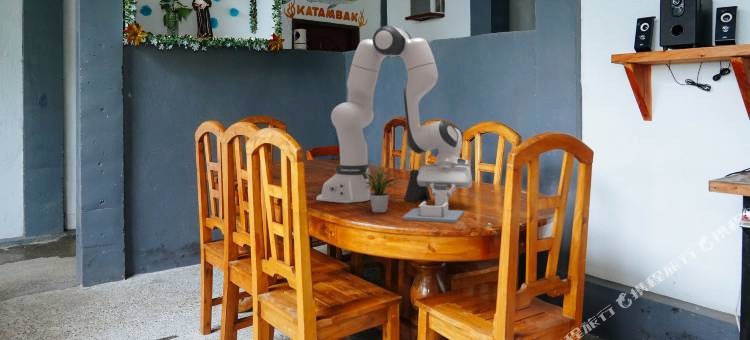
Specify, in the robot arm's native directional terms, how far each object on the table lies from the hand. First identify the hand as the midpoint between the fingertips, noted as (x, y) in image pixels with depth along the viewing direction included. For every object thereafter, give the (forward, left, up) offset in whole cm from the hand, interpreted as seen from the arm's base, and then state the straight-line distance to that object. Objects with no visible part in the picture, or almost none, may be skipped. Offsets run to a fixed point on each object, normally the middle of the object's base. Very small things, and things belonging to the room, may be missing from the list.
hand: (441, 195), depth 206 cm
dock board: (0, -13, -5) cm, 14 cm away
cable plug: (0, 0, -5) cm, 5 cm away
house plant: (-21, -10, -5) cm, 24 cm away
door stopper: (-13, +16, -6) cm, 21 cm away
